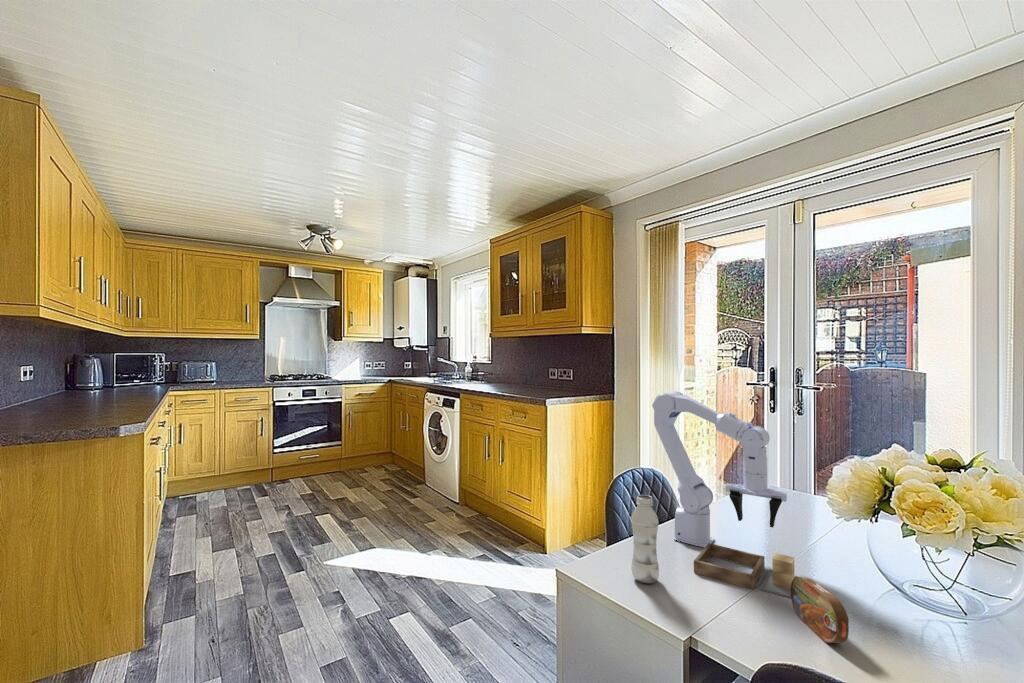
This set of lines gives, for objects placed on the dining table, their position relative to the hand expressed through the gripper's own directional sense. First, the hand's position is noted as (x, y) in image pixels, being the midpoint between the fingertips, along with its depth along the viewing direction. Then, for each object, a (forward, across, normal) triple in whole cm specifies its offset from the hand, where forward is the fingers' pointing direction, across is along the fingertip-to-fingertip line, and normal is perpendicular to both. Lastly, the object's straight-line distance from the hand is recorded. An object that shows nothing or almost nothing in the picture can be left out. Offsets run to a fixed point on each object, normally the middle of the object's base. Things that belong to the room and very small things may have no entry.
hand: (755, 522), depth 124 cm
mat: (+9, +8, -12) cm, 17 cm away
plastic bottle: (+10, -19, -30) cm, 37 cm away
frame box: (+9, -4, -12) cm, 16 cm away
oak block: (+9, +8, -12) cm, 17 cm away
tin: (+10, +16, -28) cm, 34 cm away
